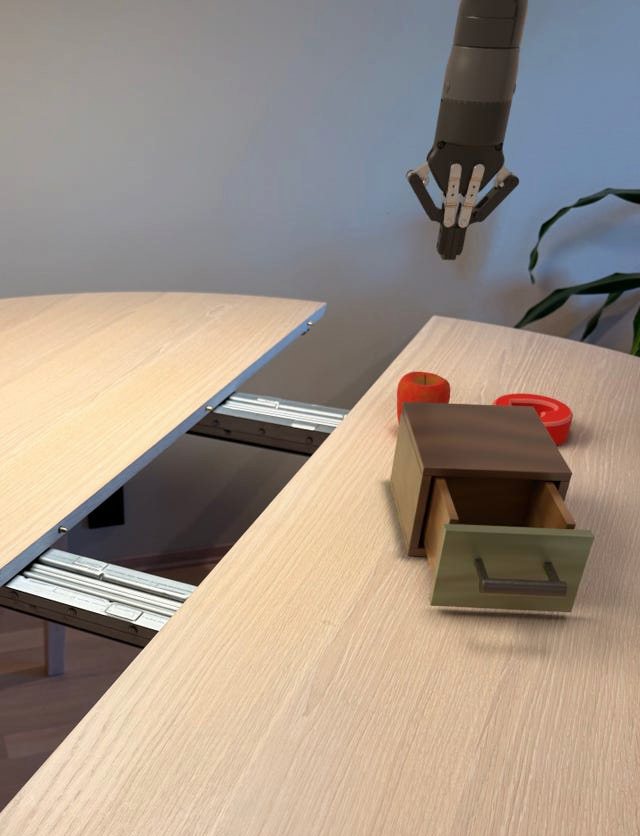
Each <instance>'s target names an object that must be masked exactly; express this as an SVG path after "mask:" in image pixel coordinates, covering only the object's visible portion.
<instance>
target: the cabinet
mask: <svg viewBox="0 0 640 836" xmlns="http://www.w3.org/2000/svg"><path fill="white" fill-rule="evenodd" d="M432 476H453V477H478V478H502V479H527V480H551V481H553V483H554V485H555V486H556V488H557V490H558V492H559V494H560V496H561V497H562V499H563V501H564V502H565V501H566V497H567V494H568V491H569V488H570V487H569V486H570V483H571V480H572V476H573V472H572V470H571V468H570V466H569V465H568V463H567V461H566V460H565V458H564V456H563V454H562V453H561V451H560V450H559V448H558V445H556V444H555V443H554V441H553V439H552V438H551V436H550V434H549V432H548V431H547V429H546V427H545V426H544V424H543V422H542V421H541V419H540V417H539V415H538V414H537V412H536V410H535V409H534V407H531V406H503V405H492V404H476V403H475V404H473V403H472V404H471V403H450V402H449V403H422V402H403V405H402V411H401V417H400V423H398V430H397V436H396V443H395V449H394V455H393V460H392V467H391V474H390V479H389V486H390V490H391V491H390V492H391V495H392V499H393V502H394V505H395V506H394V507H395V510H396V514H397V518H398V523H399V526H400V530H401V534H402V539H403V542H404V546H405V550H406V554H407V557H427V554H426V550H425V547H424V543H423V540H422V536H421V530H422V524H423V519H424V514H425V509H426V503H427V498H428V493H429V488H430V482H431V477H432Z"/></svg>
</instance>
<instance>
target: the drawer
mask: <svg viewBox="0 0 640 836" xmlns="http://www.w3.org/2000/svg"><path fill="white" fill-rule="evenodd" d="M576 526H577V523H576V521H575V519H574V518H573V516H572V514H571V512H570V510H569V509H568V507H567V505H566V503H565V501H563V499H562V497H561V496H560V494H559V492H558V490H557V488H556V486H555V485H554V483H553V481H551V480H527V479H502V478H478V477H453V476H432V477H431V482H430V488H429V493H428V498H427V503H426V509H425V514H424V519H423V524H422V530H421V536H422V540H423V543H424V547H425V550H426V554H427V556H426V557H427V561H428V564H429V568H430V572H431V576H432V580H431V586H430V590H429V596H428V601H429V605H430V607H431V606H432V607H448V608H450V607H451V608H470V609H488V610H489V609H492V610H510V611H511V610H513V611H530V612H531V611H534V612H552V613H553V612H554V613H572V611H573V607H574V604H575V602H576V601H575V600H576V598H577V594H578V591H579V587H580V585H581V581H582V579H583V575H584V573H585V572H584V571H585V569H586V565H587V562H588V559H589V555H590V553H591V549H592V547H593V543H594V539H595V535H594V533H593V532H592V530H590V529H576Z"/></svg>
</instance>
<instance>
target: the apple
mask: <svg viewBox="0 0 640 836" xmlns="http://www.w3.org/2000/svg"><path fill="white" fill-rule="evenodd" d="M396 389H397V390H396V417H397V424H399V423H400V417H401V411H402V405H403V402H422V403H449V404H450V399H451V384H450V383H449V381H448V379H446V378H445V377H443V376H441V375H439V374H436V373H432V372H426V371H411V372H408V373H406V374H404V375H403V376H402V377H401V378H400V380H399V382H398V384H397V388H396Z"/></svg>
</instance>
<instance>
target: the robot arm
mask: <svg viewBox="0 0 640 836" xmlns="http://www.w3.org/2000/svg"><path fill="white" fill-rule="evenodd" d="M529 3H530V0H459V3H458V7H457V8H458V9H457V14H456V21H455V26H454V31H453V38H452V44H451V49H450V53H449V56H448V60H447V63H446V66H445V71H444V77H443V78H444V79H443V84H442V90H441V96H440V102H439V109H438V113H437V114H438V115H437V119H436V120H437V121H436V128H435V132H434V139H433V144H432V147H431V149H430V150H429V152H428V153H427V154H426V155H427V156H426V159H425V160H426V161H424V162H423V163H422V164H420V165H419V166H418V167H416V168H415V169H409V170H408V171H407V172H406V174H405V178H406V181H407V182H408V184H409V186H410V188H411V189H412V191H413V193H414V195H415V197H416V198H417V200H418V201H419V203H420V205H421V207H422V209H423V210H424V212H425V214H426V216H427V217H428V218H429V220H430V221H431V222H436V223H438V224H439V230H438V235H437V241H436V246H435V247H436V252H437V253H438V255H439V256H440V258H441V260H442V261H456V260H457V256H461V254H462V253H463V251H464V245H465V240H466V234H467V230H468V228H469V226H470V225H472V224H476V223H482V222H484V221H486V219H487V218H488V217H489V216H490V215H491V214H492V212H494V211H495V210H496V209H497V208H498V206H500V204H501V203H502V202H503V201H504V200H505V199H507V197H508V196H509V195H510V194H511V193H512V192H513V191H514V190H515V189H516V188H517V187H518V186H519V183H520V179H519V177H518V176H517V175H516V174H515V173H513V172H511V171H510V170H509V169H508V168H507V167H506V166H505V160H506V159H505V155H504V149H503V148H504V143H505V139H506V134H507V127H508V124H509V118H510V114H511V109H512V104H513V100H514V99H513V98H514V95H515V93H516V89H517V79H518V73H519V66H520V65H519V64H520V54H521V53H520V52H521V45H522V41H523V36H524V31H525V27H526V26H525V25H526V21H527V16H528V10H529ZM430 173H431V175H432V177H433V179H434V181H435V183H436V185H437V187H438V188H439V190H441V197H440V200H441V204H440V205H441V206H440V207H437V205H436V204H435V201H434V200H433V197H431V195H430V193H429V191H428V189H427V188H426V187H427V186H428V185H429V183H430V178H429V174H430ZM493 178H494V179H493ZM492 180H493V182H492V183H493V186H492V187H491V188H490V190H488V192H487V193H486V194H485V195H484V196H483V197H482V198H481V199H480V200H479V201H478V202H477V203H476V201H477V198H478V194H479V193H481V191H483V190H484V189H485V188H486V187H487V185H488V184H489V183H490V182H491V181H492Z"/></svg>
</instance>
